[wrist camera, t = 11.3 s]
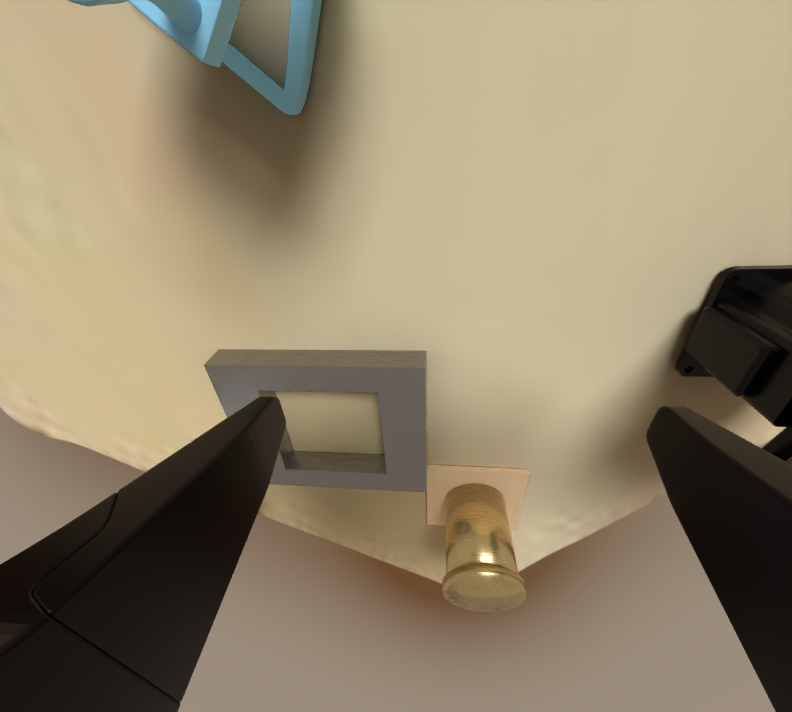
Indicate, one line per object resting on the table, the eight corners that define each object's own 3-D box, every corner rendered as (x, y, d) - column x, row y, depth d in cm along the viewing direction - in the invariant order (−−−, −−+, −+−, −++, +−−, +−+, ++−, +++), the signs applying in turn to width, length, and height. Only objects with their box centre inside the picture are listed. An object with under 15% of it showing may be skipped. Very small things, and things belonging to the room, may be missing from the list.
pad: (528, 469, 27) (530, 473, 27) (514, 525, 31) (515, 530, 31) (426, 465, 28) (426, 468, 27) (427, 520, 32) (426, 524, 32)
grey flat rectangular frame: (426, 350, 22) (425, 367, 20) (426, 472, 28) (426, 492, 27) (218, 349, 23) (203, 364, 22) (265, 465, 30) (256, 483, 28)
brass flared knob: (512, 482, 27) (533, 578, 22) (504, 522, 30) (520, 614, 25) (441, 479, 28) (443, 571, 22) (440, 518, 31) (441, 608, 25)
